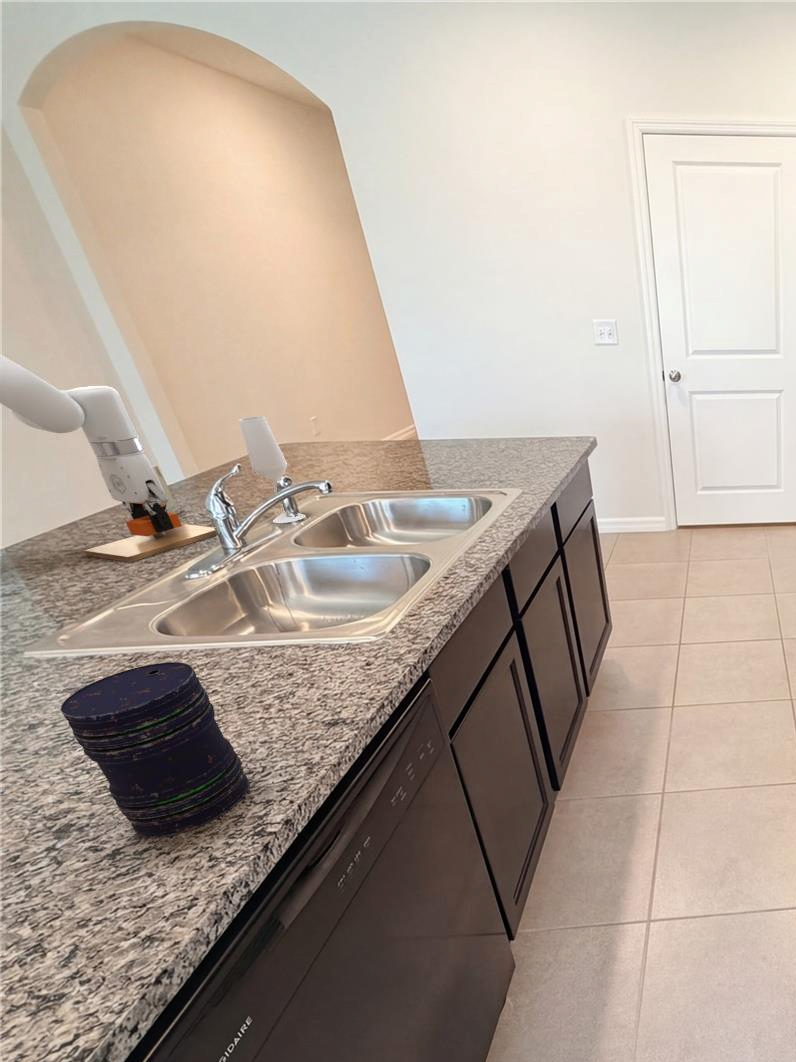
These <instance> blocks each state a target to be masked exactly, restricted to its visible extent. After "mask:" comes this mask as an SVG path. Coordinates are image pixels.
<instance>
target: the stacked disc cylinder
mask: <svg viewBox="0 0 796 1062" xmlns="http://www.w3.org/2000/svg"><path fill="white" fill-rule="evenodd" d="M59 709H60V712H61V714H62V715H63V717H64V719H65V720H66V721H68V725H69V727H70V728H71V730H72V735H73V737H74V738H75V740H76V741H77V743H78V745H79V746H81V747H82V748H83V753H84V755H85V756H86V757H88V758H89V760H91V761H92V762H95V763H96V764H97V765H98V767H99V769H100V770H101V772H102V774H103V775H104V777H105V779H106V780H107V782H108V783H109V785H108V791H109V793H110V794H111V797H112V800H114V801H115V805H116V806H117V808H118V810H119V812H121V814H122V815H123V816H125V817H126V819H127V820H128V821H129V822H130V823H131V827H132V829H133V830H134V832H135V834H137V835H138V836H142V837H144V838H165V837H170V836H171V837H172V836H176V835H179V834H182V833H186V832H188V831H192V830H194V829H197V828H199V827H201V826H204V825H206V824H209V823H210V822H212V821H214V820H216V819H218V818H219V817H221V816H222V815H224V814H226V813H227V812H229V811H230V810H232V809H233V808H235V806H236V805H237V804H239V803H240V801H242V799H243V798H244V797H245V796H246V795H247V793H248V791H249V789H250V781H249V779H248V776H247V775H246V774H245V773H244V772H245V771H244V769H243V766H242V761H241V760H240V757H239V756H238V753H236V751H235V750H234V746H233V745H232V742H231V741H230V740H229V739H228V738H226V737H225V736H224V734H223V733H222V731H221V728H220V727H219V724H218V722H217V720H216V717H215V716H216V713H215V707H214V704H213V703H212V702H211V701H210V697H209V695H208V693H207V691H206V689H205V687H204V686H202V682H200V680H199V679H198V677H197V673H196V671H195V669H194V667H193V666H192V665H191V664H188V663H185V662H179V661H178V662H177V661H176V662H175V661H167V662H159V663H158V662H157V663H151V664H147V665H141V666H137V667H133V668H129V669H125V670H123V671H120V672H116V673H113V674H111V675H107V676H105V677H103V678H101V679H98V680H95V681H93V682H91V683H89V684H87V685H85V686H83V687H81V688H80V689H78V690H76V691H75V692H74V693H72V694H70V695H69V696H68V697H66V699H65V700H63V702H62V704H60V708H59Z"/></svg>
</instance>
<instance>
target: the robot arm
mask: <svg viewBox="0 0 796 1062" xmlns="http://www.w3.org/2000/svg"><path fill="white" fill-rule="evenodd" d="M0 404H1V405H3V406H4V407H5V408H7V409H10V410H11V411H12V414H13V416H14V417H15V418H16V419H17V420H18V421H20V422H21V423H23V424H24V425H26V426H28V427H31V428H34V429H36V430H37V429H38V430H42V431H44V432H45V431H46V432H49V433H53V434H54V433H55V434H67V433H68V434H69V433H72V432H75V431H76V430H79V428H81V429H82V431H83V433H84V435H85V437H86V439H87V441H88V443H89V446H90V447H91V449H92V451H93V453H94V455H95V457H96V461H97V464H98V467H99V470H100V474H101V475H102V478H103V481H104V483H105V485H106V487H107V490H108V492H109V494H110V496H111V499H113V500H114V501H116V502H120V503H122V504H123V505H124V506H125V507H126V510H127V512H128V513H129V514H130V516H131V518H132V520H133V519H137V518H141V517H145V516H148V515H149V518H150V520H151V522H152V524H153V526H154V528H155V530H156V532H159V533H160V532H164V531H167V530H170V529H173V528H174V526H173V524H172V522H171V520H170V517H169V515H168V513H167V511H168V510H167V508H166V506H167V502H168V498H167V497H166V496H165V493H164V490H163V487H162V485H161V483H160V481H159V479H158V477H157V475H156V473H155V471H154V469H153V467H152V466H153V465H152V464H151V462H150V461H149V459H148V457H147V456H146V454H145V452H146V451H145V448H144V446H143V444H142V441H141V439H140V438H139V434H138V433H137V430H136V428H135V426H134V424H133V422H132V419H131V418H130V415H129V413H128V411H127V408H126V407H125V404H124V402H123V400H122V398H121V395H120V393H119V392H118V391H117V390H116V389H115V388H114V387H111V386H107V385H94V386H93V385H92V386H85V387H84V386H82V387H76V388H73V389H72V388H71V389H62V390H61V389H59V388H57V387H55V386H54V385H52V384H50V383H49V382H48V381H45V380H44V379H42V378H41V377H39V376H38V375H36V374H35V373H34V372H32V371H30V370H28V369H27V368H25V367H23V366H21V365H19V364H18V363H17V362H15V361H13V360H11V358H8V357H6V356H4V355H2V354H1V353H0ZM148 497H151V498H155V499H151V500H148ZM153 502H156V503H154V505H153V507H152V506H151V504H150V503H153ZM146 508H147V509H146ZM144 509H145V510H144Z"/></svg>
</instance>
